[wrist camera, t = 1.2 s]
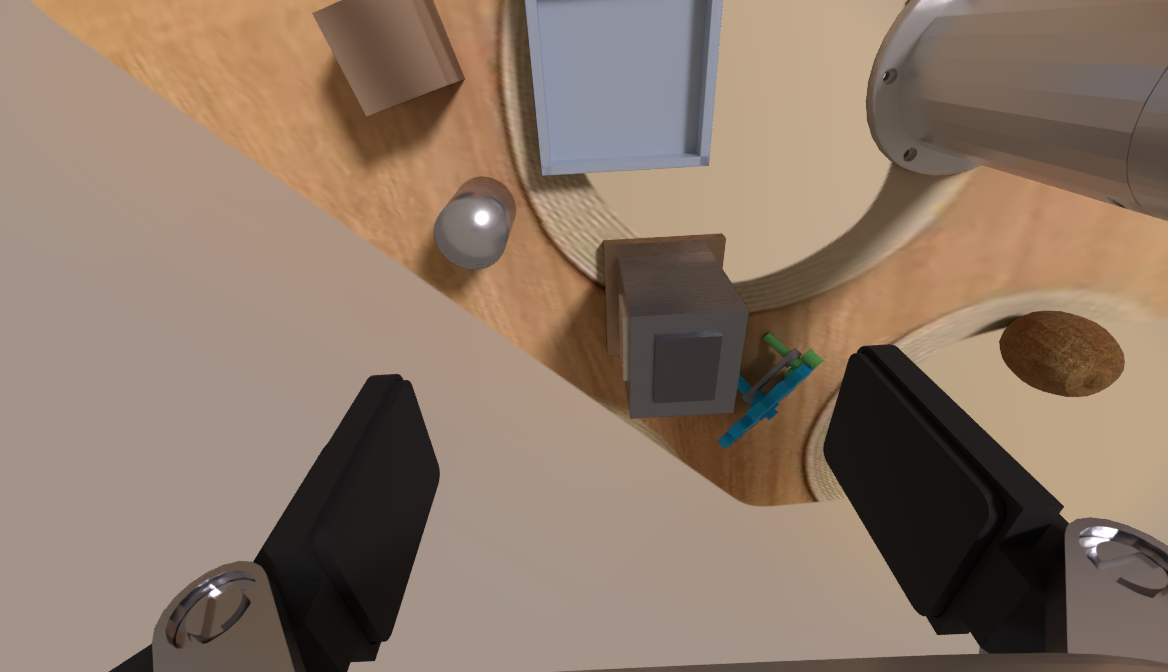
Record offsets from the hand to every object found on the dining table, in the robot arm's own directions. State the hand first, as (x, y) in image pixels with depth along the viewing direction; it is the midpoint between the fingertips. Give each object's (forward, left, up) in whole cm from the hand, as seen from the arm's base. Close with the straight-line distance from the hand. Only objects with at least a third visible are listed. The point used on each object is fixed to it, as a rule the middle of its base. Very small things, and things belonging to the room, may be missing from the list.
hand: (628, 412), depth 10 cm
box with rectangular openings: (-5, +11, -26) cm, 29 cm away
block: (+11, -7, -26) cm, 29 cm away
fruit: (-36, +16, -26) cm, 48 cm away
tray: (-2, -5, -26) cm, 27 cm away
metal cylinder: (+8, +3, -26) cm, 27 cm away
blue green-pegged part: (-14, +20, -26) cm, 36 cm away
